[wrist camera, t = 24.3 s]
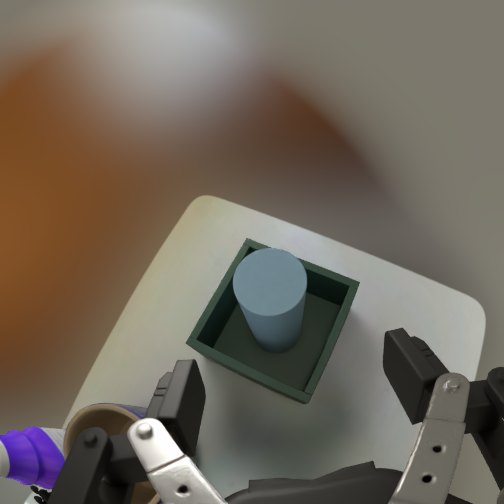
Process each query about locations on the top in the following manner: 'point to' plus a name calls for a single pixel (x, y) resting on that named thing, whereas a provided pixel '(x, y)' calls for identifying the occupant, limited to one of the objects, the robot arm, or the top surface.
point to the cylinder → (272, 297)
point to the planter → (114, 423)
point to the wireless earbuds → (42, 493)
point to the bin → (266, 363)
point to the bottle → (32, 456)
